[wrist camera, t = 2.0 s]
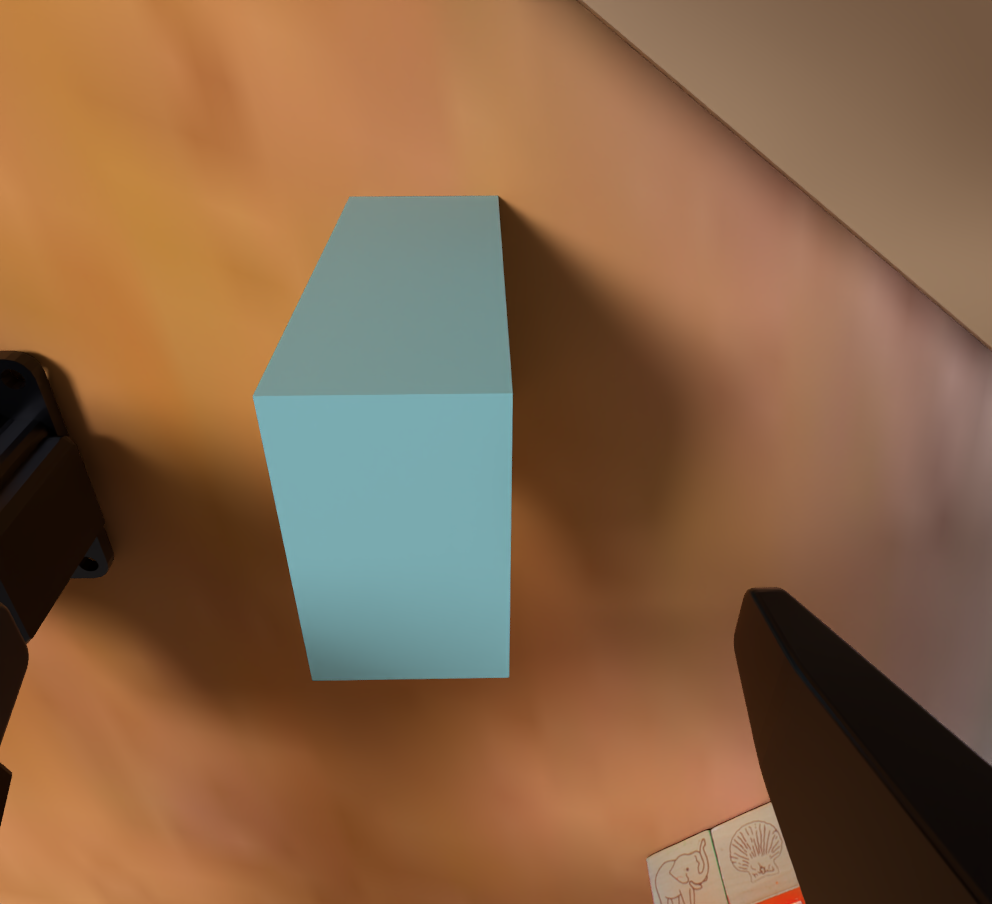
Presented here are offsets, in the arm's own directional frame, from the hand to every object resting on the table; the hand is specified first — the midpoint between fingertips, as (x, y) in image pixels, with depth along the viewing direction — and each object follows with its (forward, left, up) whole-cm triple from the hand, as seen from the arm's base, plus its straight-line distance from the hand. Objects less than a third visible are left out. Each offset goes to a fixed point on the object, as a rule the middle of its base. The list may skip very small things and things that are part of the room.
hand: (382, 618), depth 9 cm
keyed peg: (0, 0, -9) cm, 9 cm away
